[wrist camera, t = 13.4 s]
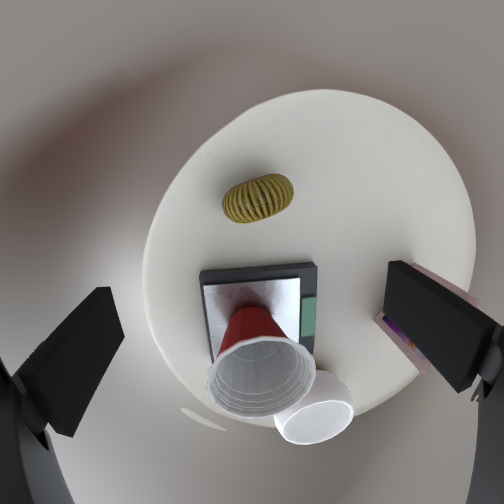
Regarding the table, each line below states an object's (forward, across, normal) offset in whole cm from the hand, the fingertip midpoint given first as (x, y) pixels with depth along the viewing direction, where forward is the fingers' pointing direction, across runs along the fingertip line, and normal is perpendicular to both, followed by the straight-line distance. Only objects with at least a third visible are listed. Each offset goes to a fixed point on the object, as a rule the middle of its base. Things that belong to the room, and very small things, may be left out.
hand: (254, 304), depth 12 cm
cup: (+23, +8, -29) cm, 38 cm away
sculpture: (+24, +2, +3) cm, 24 cm away
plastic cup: (+20, 0, -13) cm, 24 cm away
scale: (+23, +2, -14) cm, 27 cm away
